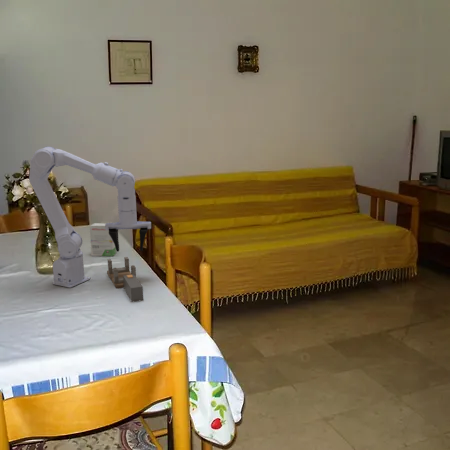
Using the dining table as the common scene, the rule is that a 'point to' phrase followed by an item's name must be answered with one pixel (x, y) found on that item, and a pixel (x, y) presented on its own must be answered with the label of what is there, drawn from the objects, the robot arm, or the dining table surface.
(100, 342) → the dining table surface
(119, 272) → the cradle
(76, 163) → the robot arm
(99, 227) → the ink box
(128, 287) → the grey rectangular block
